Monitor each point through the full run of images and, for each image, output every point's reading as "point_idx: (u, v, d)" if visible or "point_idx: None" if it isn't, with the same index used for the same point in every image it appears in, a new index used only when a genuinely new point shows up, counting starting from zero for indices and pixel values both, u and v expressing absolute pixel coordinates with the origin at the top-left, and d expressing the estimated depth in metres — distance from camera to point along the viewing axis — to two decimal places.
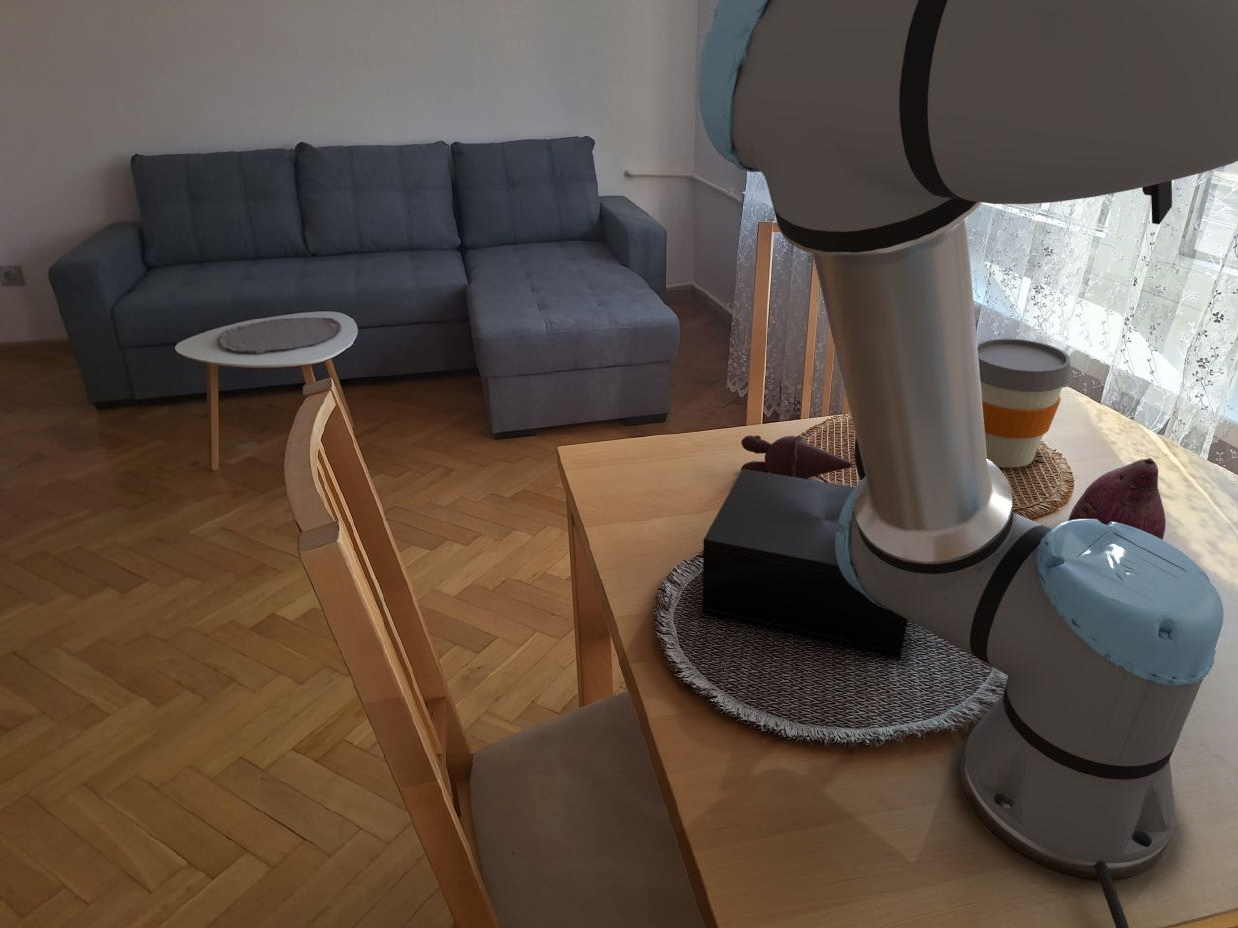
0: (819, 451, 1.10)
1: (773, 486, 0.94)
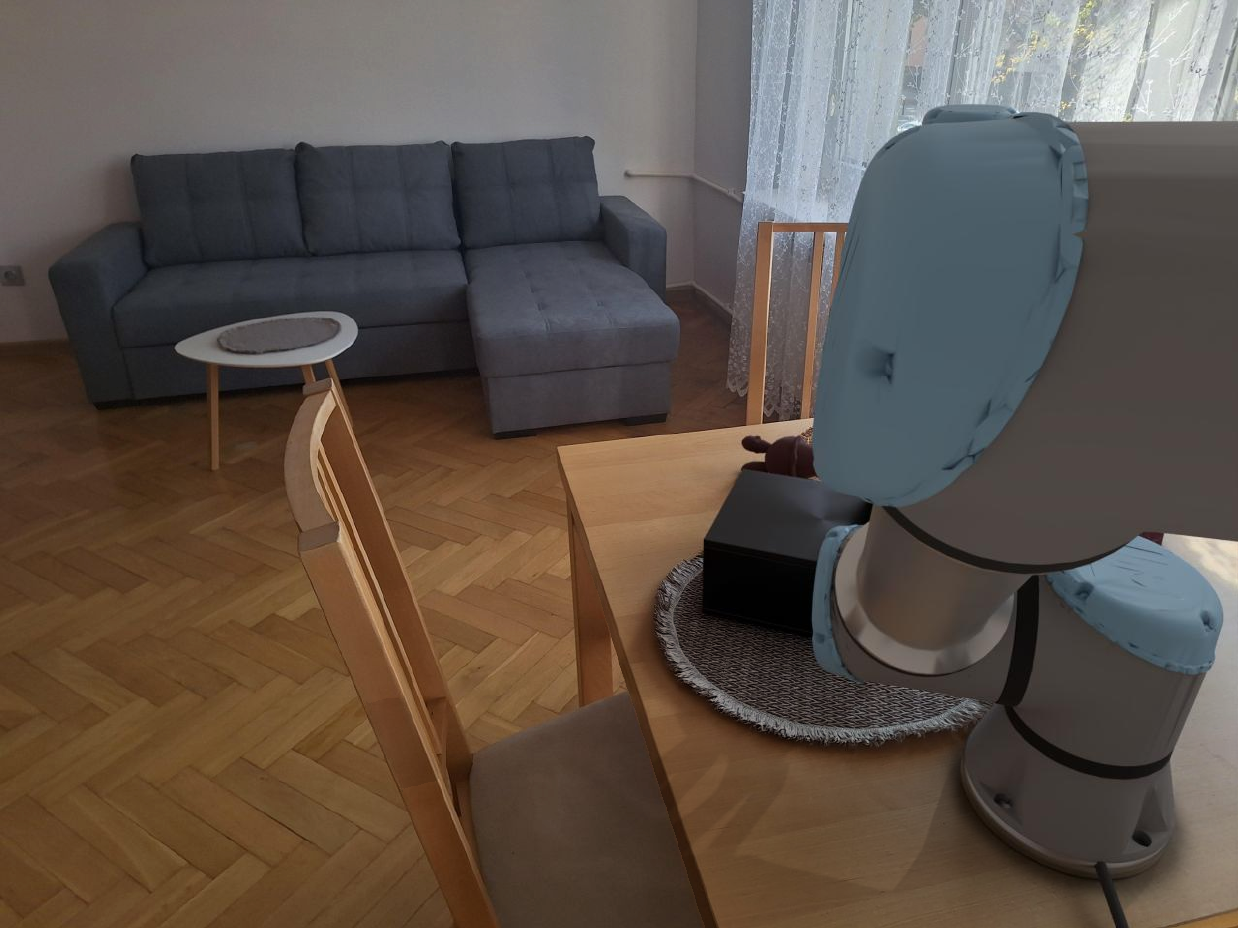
0: None
1: (773, 486, 0.94)
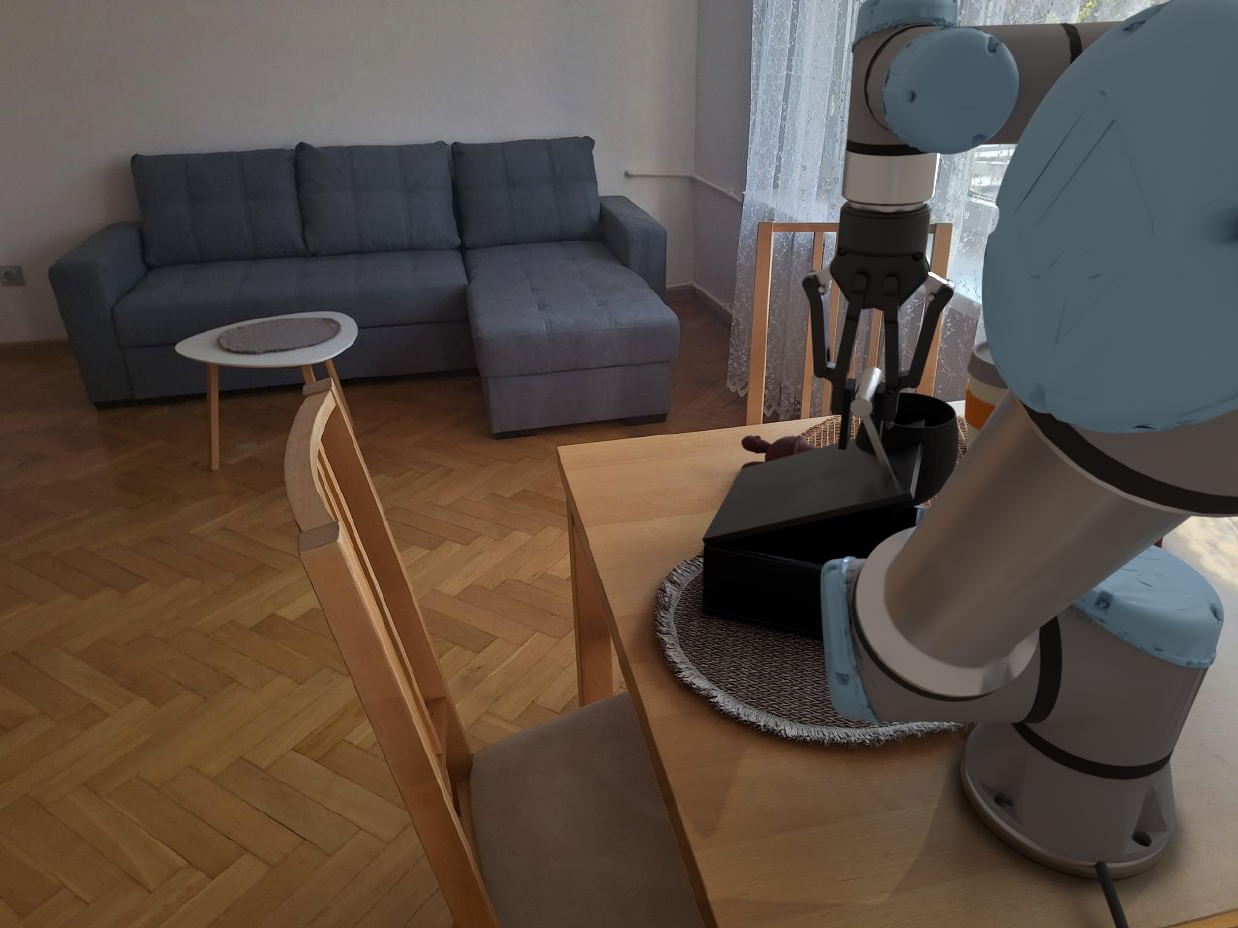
0: None
1: (768, 471, 0.93)
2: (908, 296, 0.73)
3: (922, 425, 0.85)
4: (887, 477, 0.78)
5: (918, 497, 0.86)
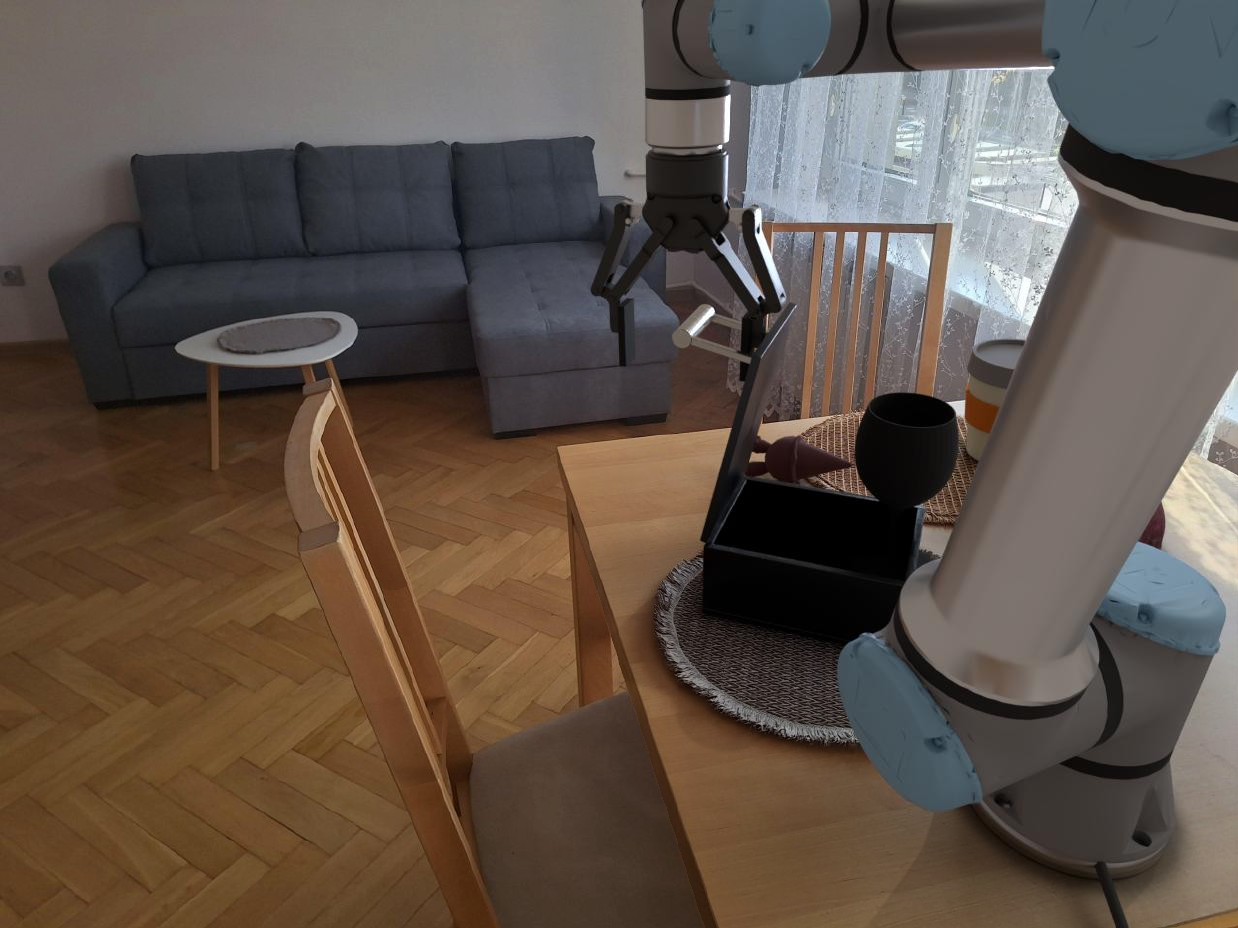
0: (819, 451, 1.10)
1: None
2: (711, 238, 0.77)
3: (786, 307, 0.85)
4: None
5: (918, 497, 0.86)
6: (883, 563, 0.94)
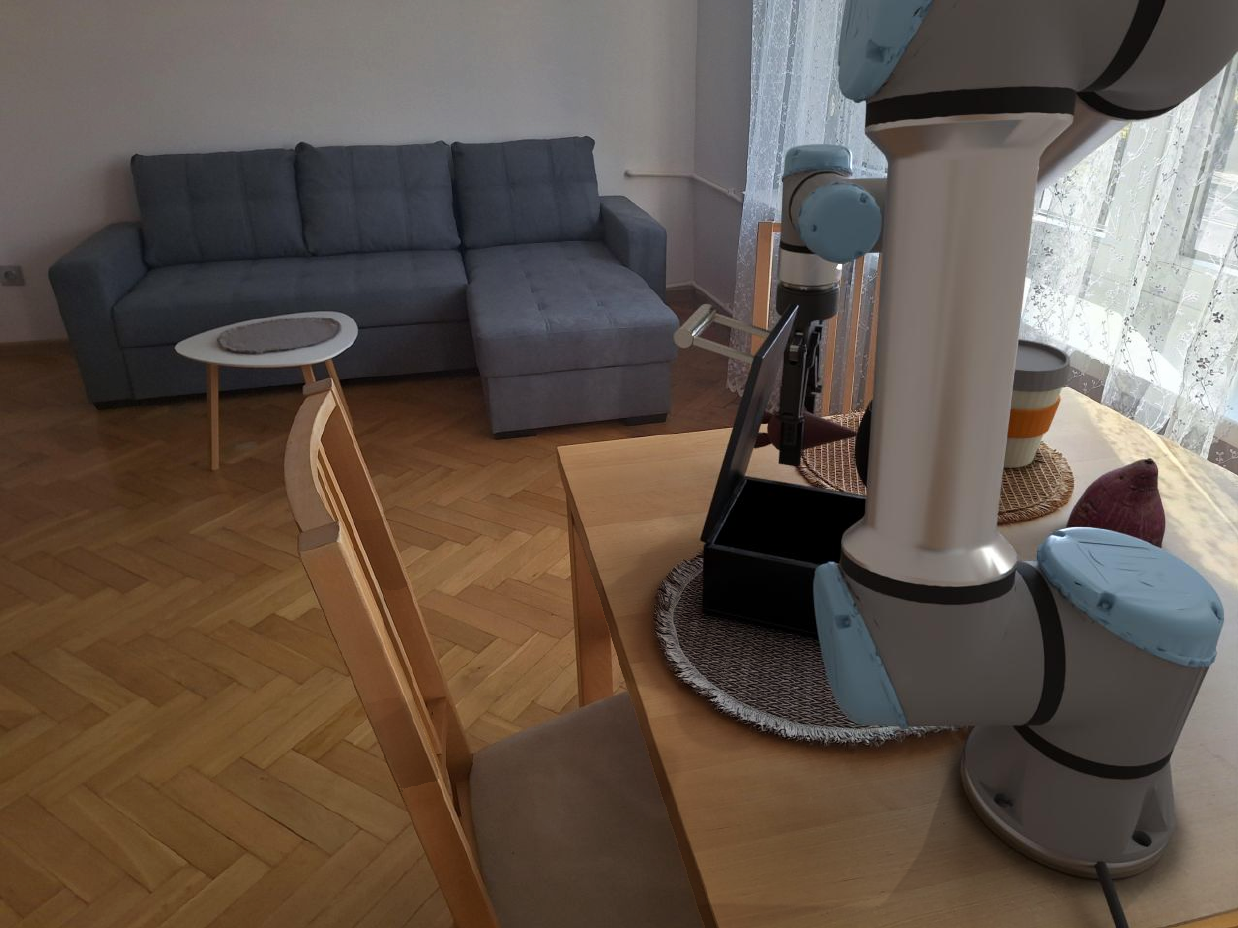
0: (823, 420, 1.07)
1: None
2: None
3: None
4: None
5: None
6: None
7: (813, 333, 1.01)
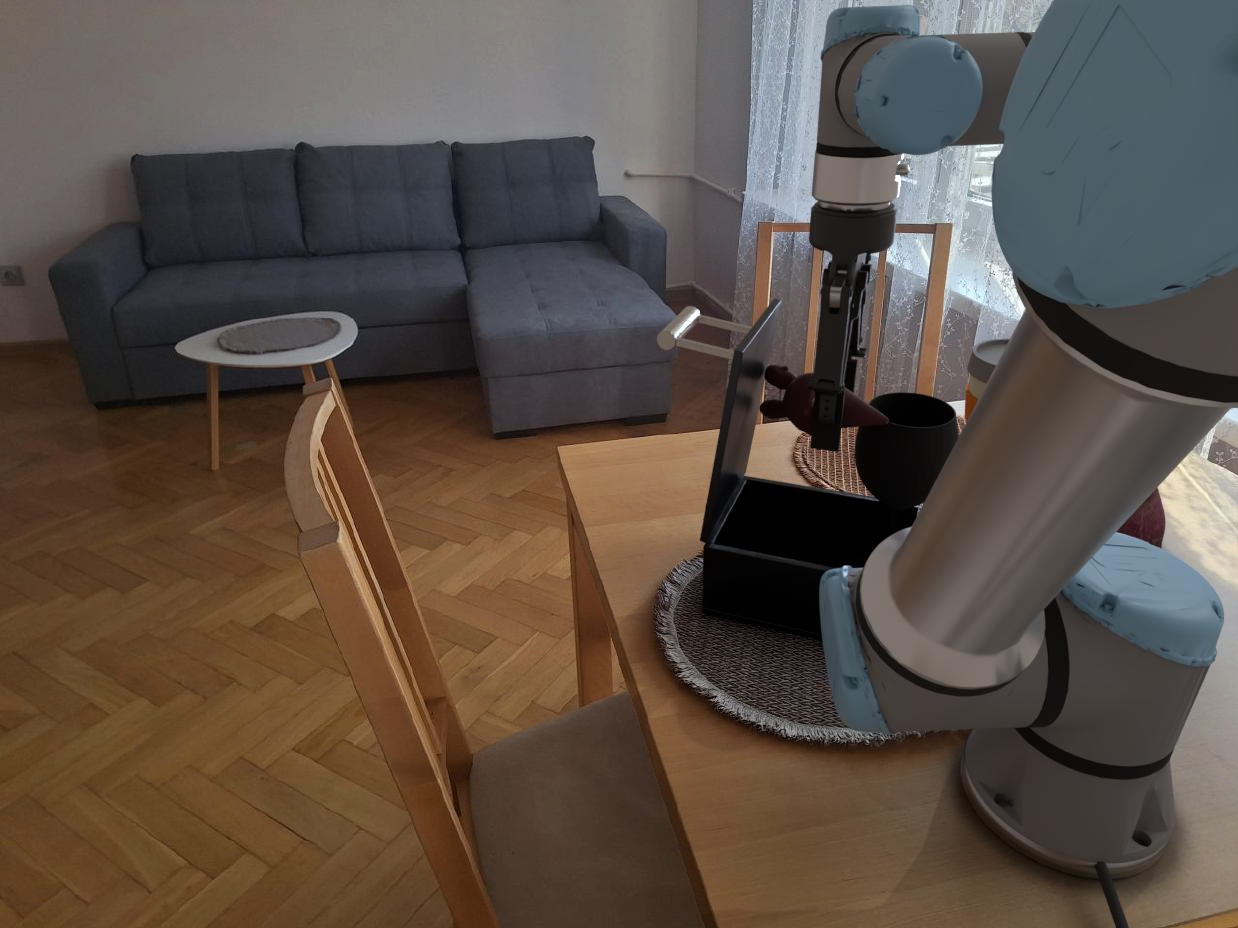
0: (849, 396, 0.81)
1: None
2: None
3: (770, 303, 0.85)
4: None
5: (918, 497, 0.86)
6: None
7: (860, 272, 0.75)
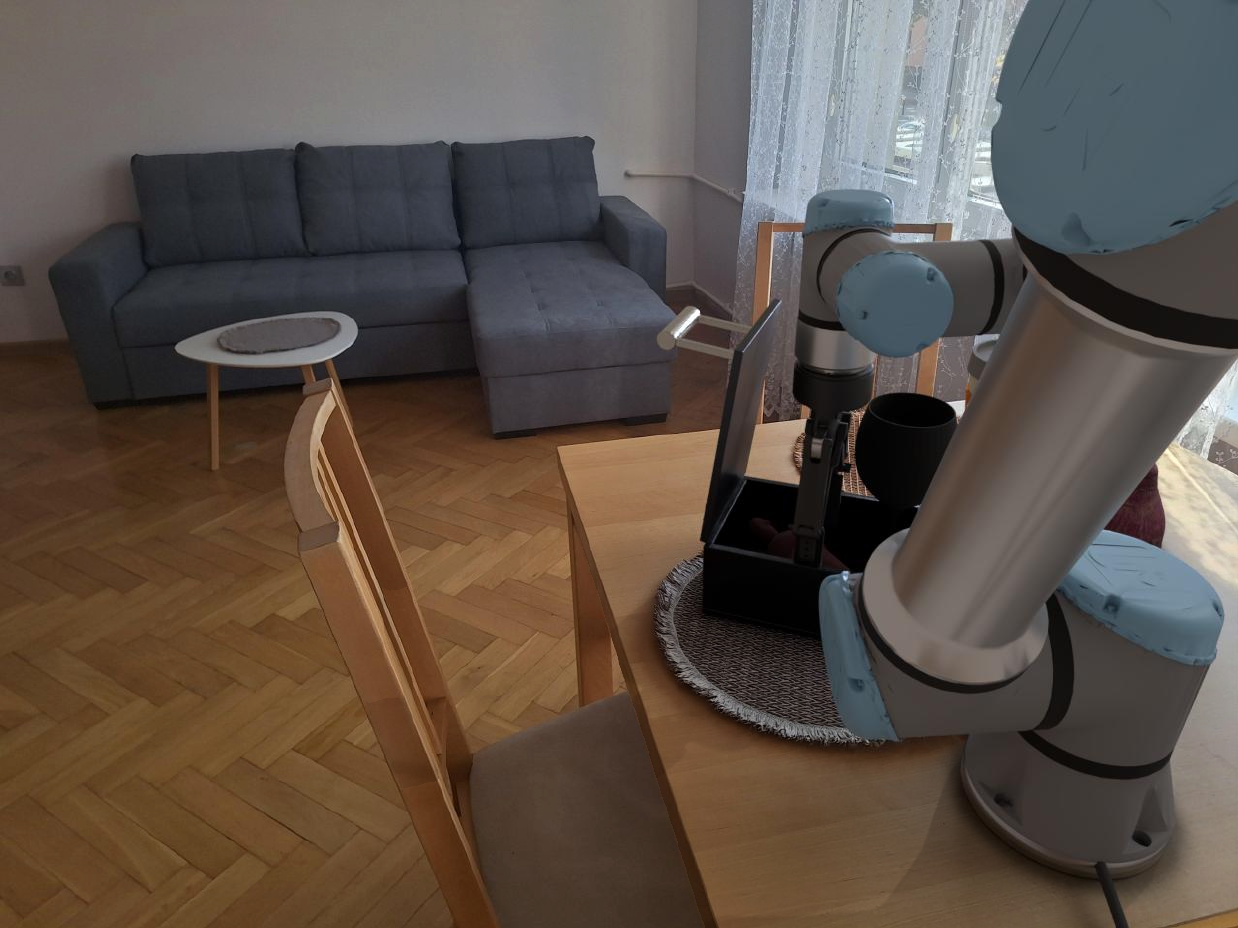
0: (827, 557, 0.88)
1: None
2: None
3: (770, 303, 0.85)
4: None
5: (918, 497, 0.86)
6: None
7: (840, 424, 0.80)
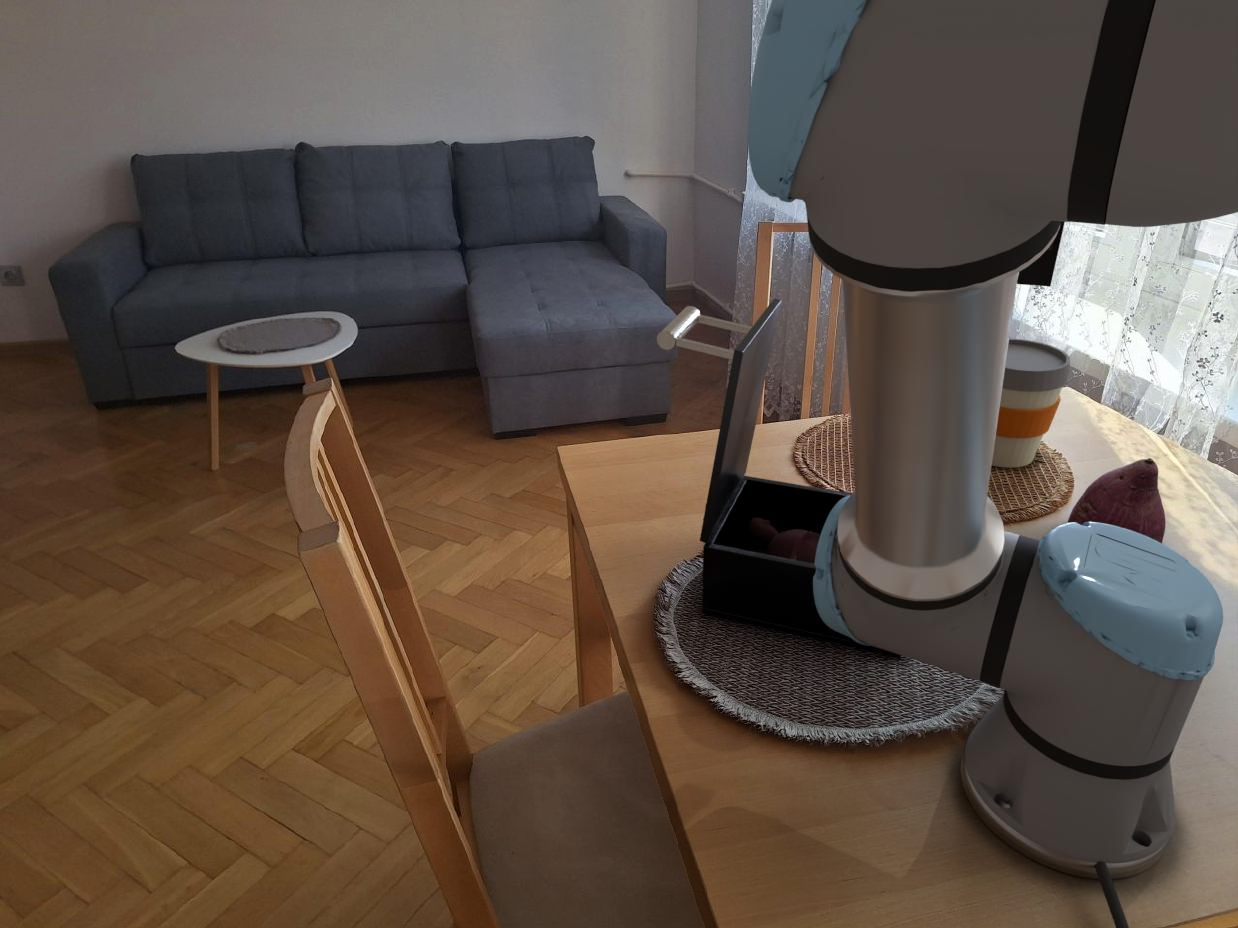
0: None
1: None
2: None
3: (770, 303, 0.85)
4: None
5: None
6: None
7: None
